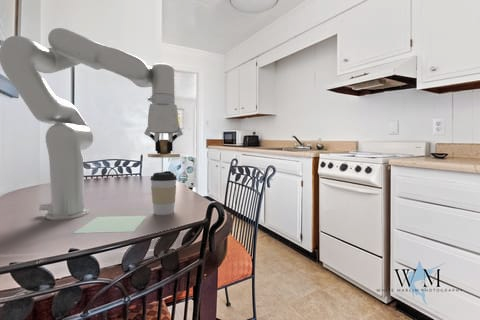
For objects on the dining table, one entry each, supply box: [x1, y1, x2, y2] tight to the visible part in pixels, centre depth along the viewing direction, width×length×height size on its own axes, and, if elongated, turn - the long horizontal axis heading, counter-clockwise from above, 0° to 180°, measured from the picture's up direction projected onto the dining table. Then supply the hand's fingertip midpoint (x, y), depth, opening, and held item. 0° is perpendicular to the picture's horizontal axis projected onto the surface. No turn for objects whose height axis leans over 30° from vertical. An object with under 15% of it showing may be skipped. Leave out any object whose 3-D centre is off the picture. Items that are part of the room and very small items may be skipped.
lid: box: [147, 139, 181, 159], centre depth 92 cm, size 11×11×6 cm
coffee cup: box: [149, 170, 178, 216], centre depth 93 cm, size 9×9×15 cm
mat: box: [73, 215, 148, 234], centre depth 80 cm, size 16×16×1 cm
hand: (164, 152), depth 92 cm, fingers closed on lid, 3 cm apart
